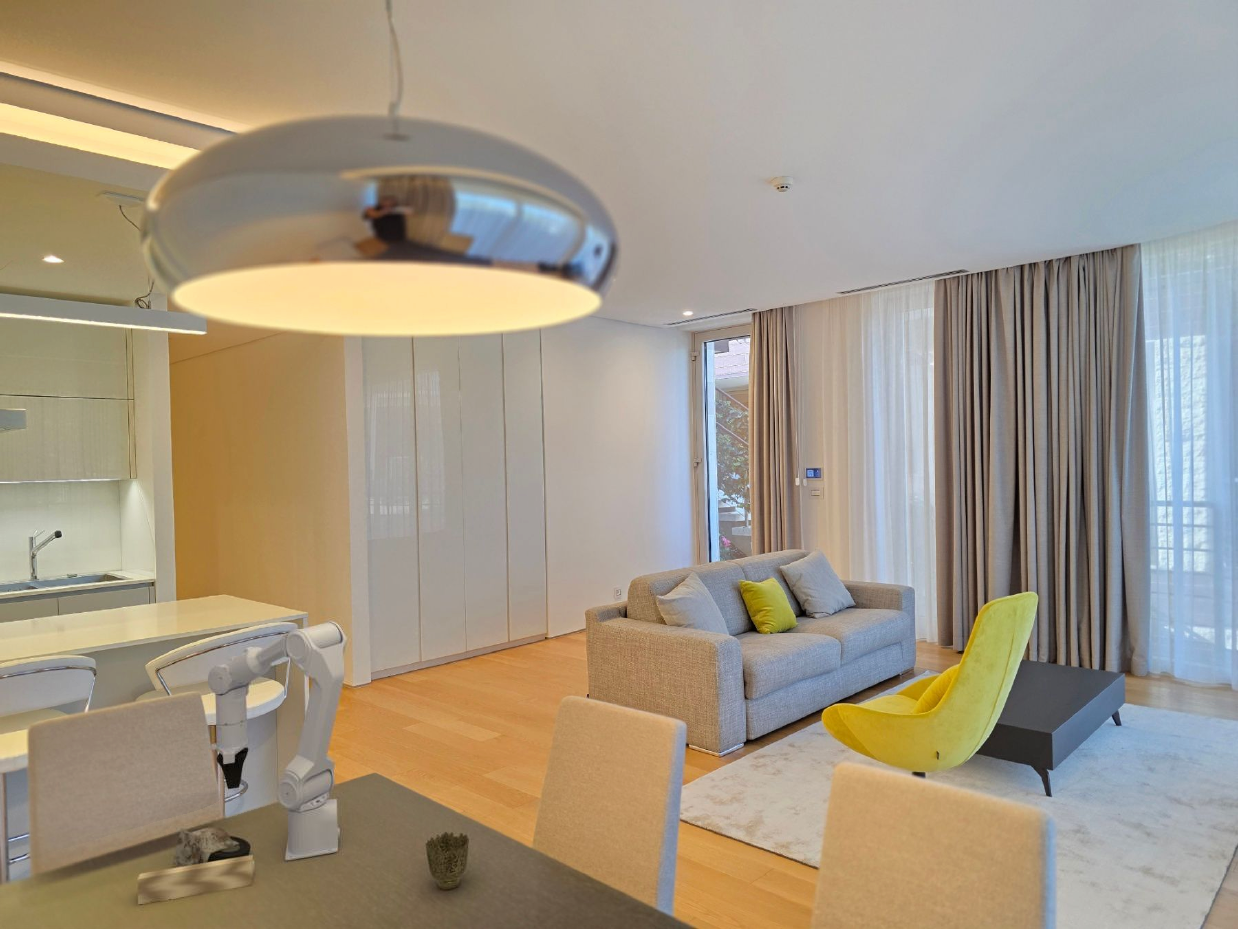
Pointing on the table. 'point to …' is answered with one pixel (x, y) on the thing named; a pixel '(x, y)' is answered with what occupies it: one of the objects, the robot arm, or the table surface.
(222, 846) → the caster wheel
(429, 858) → the cup
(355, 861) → the table surface
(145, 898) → the bar
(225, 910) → the table surface
